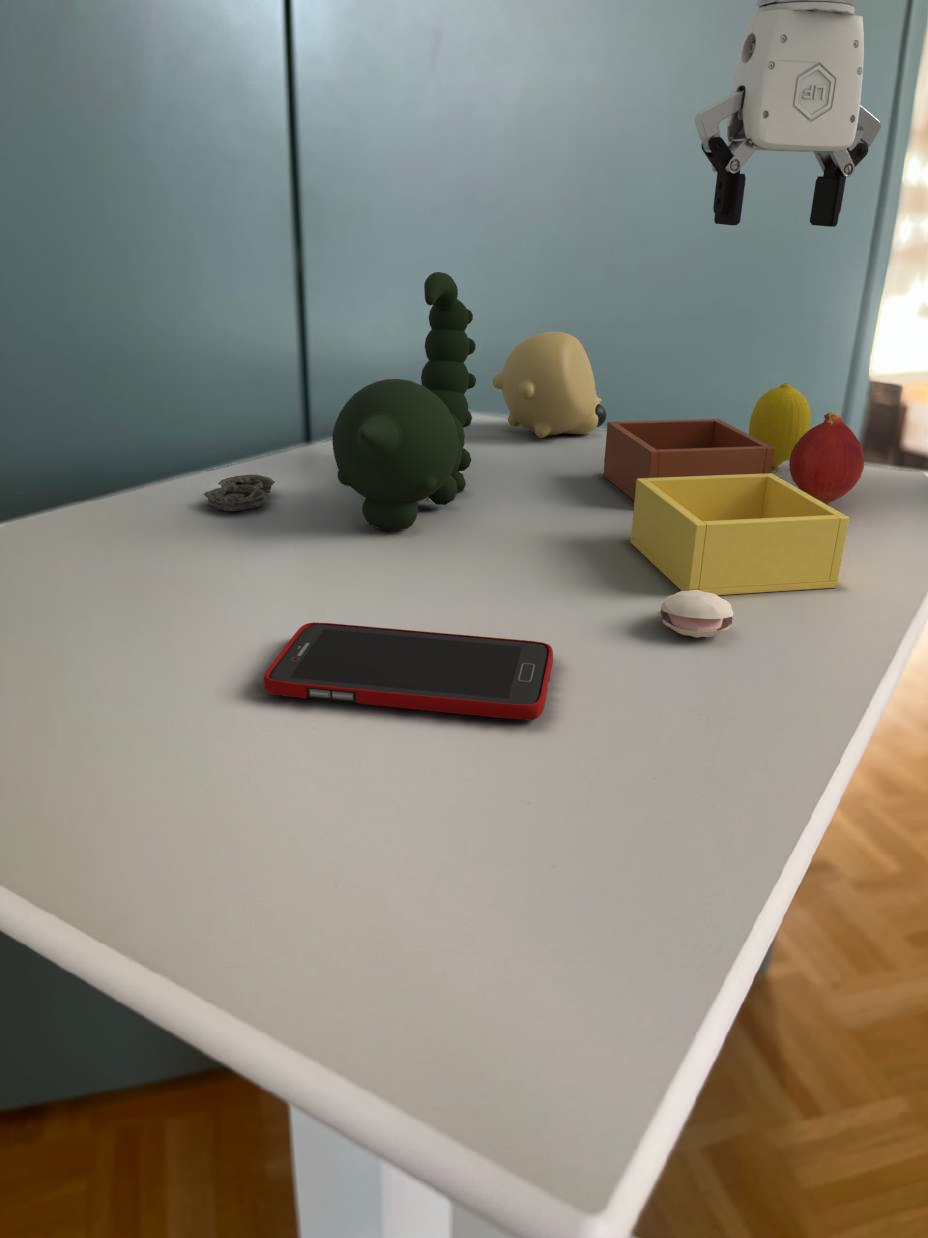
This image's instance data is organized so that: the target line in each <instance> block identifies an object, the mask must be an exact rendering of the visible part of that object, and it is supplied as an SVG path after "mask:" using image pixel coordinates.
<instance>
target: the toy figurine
mask: <svg viewBox="0 0 928 1238" xmlns="http://www.w3.org/2000/svg"><path fill="white" fill-rule="evenodd" d="M423 289H424V300H425V303H426V305H428V306H431V308H430V310H429V314H428V323H429V326H430V329H431V330H430V331H428V333H427V335H426V337H425V340H424V350H425V356H426V358H427V359H428V361H427V362H426V363H425V364H424V365H423V368H422V369H421V375H420V383H421V384H419V383H417V382H415V381H412V380H407V379H402V378H387V379H386V378H385V379H382V380H378V381H374V382H372V383H370V384H367V385H366V386H364V387H362V388H360V389H359V390H358V391H357V392H355V393H354V394H353V395H352V396H351V397H350V398H349V399H348V400H347V402H346V403H345V404H344V406H343V407H342V408H341V410H340V411H339V414H338V416H337V418H336V420H335V423H334V426H333V430H332V435H331V439H332V440H331V442H332V444H331V445H332V450H333V457H334V461H335V464H336V467H337V474H336V476H337V477H336V478H337V480H338V481H339V483H340V484H341V485H343V486H346V487H350V488H351V489H352V490H353V491H354V492H356V493H357V494H358V495H360V496H362V497H364V500H363V502H362V505H361V514H362V516H363V518H364V521H365V522H366V523H367V524H368V525H369V526H371V527H374V528H377V529H379V530H384V531H394V532H395V531H396V532H397V531H398V532H399V531H404V530H407V529H408V528H410V527H412V526H413V525H414V524H415V522H416V521H417V517H418V513H419V511H418V505H417V503H418V502H421V501H423V500H425V499H429V500H430V501H431V502H432V503H433V504H435V505H440V506H447V505H448V504H450V503H451V502H454V500H455V498H456V496H457V494H460V493H462V492H464V490H465V488H466V486H467V482H466V479H465V475H464V473H463V472H465V471H466V470H467V469H468V468H469V467H470V466H471V463H472V456H471V453H470V452H469V451H468V450H467V449H466V448H465V443H466V435H465V434H466V433H465V429H464V428H468V427H469V426H470V425H471V424H472V421H473V415H472V413H471V412H470V411H469V403H468V400H467V398H466V396H465V394H466V393H467V390H470V389H473V388H474V387H476V383H477V378H476V376H475V375H474V374H472V373H471V372H469V370H468V368H467V365H466V364H465V362H466V361H467V359H468V356H470V355H472V354H474V352H475V351H476V349H477V347H476V342H475V341H474V340H473V339H472V338H471V337H469V336H468V334H467V333H466V329H467V328H468V325H470V324H471V323H472V321H473V319H474V313H472V311H471V310H470V309H468V308H467V306H466V305H465V304H464V303H463V301H461V300H459V299H458V296H459V289H458V286H457V283H456V282H455V280H454V279H453V277H452V276H451V275H449V273H446V272H442V271H436V272H433V273H430V274H429V276H428V277H426V278H425V281H424V284H423Z"/></svg>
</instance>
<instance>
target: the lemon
mask: <svg viewBox="0 0 928 1238" xmlns="http://www.w3.org/2000/svg"><path fill="white" fill-rule="evenodd" d="M811 425H812V414H811V407H810V404H809V401H808V399H807V398H806V397H805V396H804V394H802V393H801V392H800V391H799V390H797V389H795V388H794V387H792V385H791V384H790V383H782V384H780V385H779V386H777V387H774V388H771V389H769V390H768V391H765V393H763V394H762V395H761V396H760V397H759V398H758V400H757V401H756V403H755V405H754V407H753V410H752V412H751V415H750V419H749V424H748V434H749V435H750V436H752V437H754V438H756V439H758V440H760V441H762V442H764V443H766V444H768V445H770V446H772V447H774V454H773V461H772V468H777V467H779V466H780V465H781V464H782V463H784V462H786V461H789V460H790V456H791V452H792V450H793V448H794V446H795V445H796V443H797V442H798V441H799V439H800V438H801V437H802V436H803V435H804V434H805V433H806V432H807V431H809V430H810V429H811Z"/></svg>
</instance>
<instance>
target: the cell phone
mask: <svg viewBox="0 0 928 1238" xmlns="http://www.w3.org/2000/svg"><path fill="white" fill-rule="evenodd" d="M553 662H554V651H553V647H552V646H551V645H550V644H549V643H546V642H542V641H534V640H525V639H516V638H515V639H514V638H512V639H511V638H505V637H504V638H501V637H490V636H479V635H468V634H459V633H458V634H457V633H447V632H446V633H445V632H434V631H425V630H424V631H423V630H412V629H411V630H410V629H401V628H399V629H398V628H388V627H387V628H386V627H378V626H377V627H375V626H366V625H354V624H344V623H332V622H315V621H314V622H308V623H305V624H303V625H301V626H300V627H299V628H298V629H297V631H296V632H295V633H294V634H293V636H292V637H291V638H290V640H288V642H287V644H286V645H285V646H284V647H283V649H282V650H281V651H280V653H279V654H278V655H277V656H276V658H275V659H274V660H273V662H272V663H270V665H269V666H268V668H267V669H266V671H265V673H264V675H263V689H264V691H265V692H267V693H269V694H271V695H274V696H283V697H290V698H291V697H292V698H298V699H299V698H300V699H308V698H310V699H320V700H330V701H338V702H339V701H341V702H351V703H356V704H360V705H371V706H381V707H390V708H398V709H399V708H400V709H410V710H420V711H428V712H429V711H430V712H439V713H441V712H442V713H448V714H461V715H470V716H480V717H489V718H500V719H511V720H523V721H524V720H526V721H527V720H536V719H538V718H539V717H541V716H542V714H543V712H544V709H545V706H546V699H547V696H548V689H549V687H548V686H549V682H550V680H551V674H552V670H553V664H554V663H553Z"/></svg>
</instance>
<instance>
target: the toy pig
mask: <svg viewBox="0 0 928 1238" xmlns="http://www.w3.org/2000/svg"><path fill="white" fill-rule="evenodd" d="M492 386H493V387H494V388H495V389H498V390H501V393H502V397H503V400H504V402H505V404H506V407H507V409H508V410H509V414H508V417H507V422H508V424H509V426H510V427H518V426H522V427H523V428H525V429H526V430H527V431H528V432H531V433H534V434H535V435H536V437H538V438H541V439H542V438H546V437H547V436H556V435H560V434H568V435H585V434H589V433H591V432H593V431H594V430H596V429H597V428H599V427H601V426H603V424H605V421H606V420H607V412H606V409H605V407H604V406H603V405H601V403H602V401H603V400H602V398H601V397H599V396H598V395H597V391H596V383H595V378H594V373H593V369H592V365H591V362H590V359H589V357H588V355H587V352H586V350H585V348H584V346H583V344H582V342H581V341H580V340H579V339H578V338H577V337H575V336H574V335H573V334H570V333H567V332H564V331H563V332H562V331H545V332H541V333H536V334H534V335H532V336H529V337H527V338H525V339H524V340H522V341H521V342H520V343H518V344H517V345H516V346H515V347H514V348H513V349H512V351H511V352H510V353H509V355H508V356H507V358H506V360H505V362H504V364H503V367H502V371H500V372H499V373H496V374H495V376H494V377H493V378H492Z"/></svg>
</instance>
